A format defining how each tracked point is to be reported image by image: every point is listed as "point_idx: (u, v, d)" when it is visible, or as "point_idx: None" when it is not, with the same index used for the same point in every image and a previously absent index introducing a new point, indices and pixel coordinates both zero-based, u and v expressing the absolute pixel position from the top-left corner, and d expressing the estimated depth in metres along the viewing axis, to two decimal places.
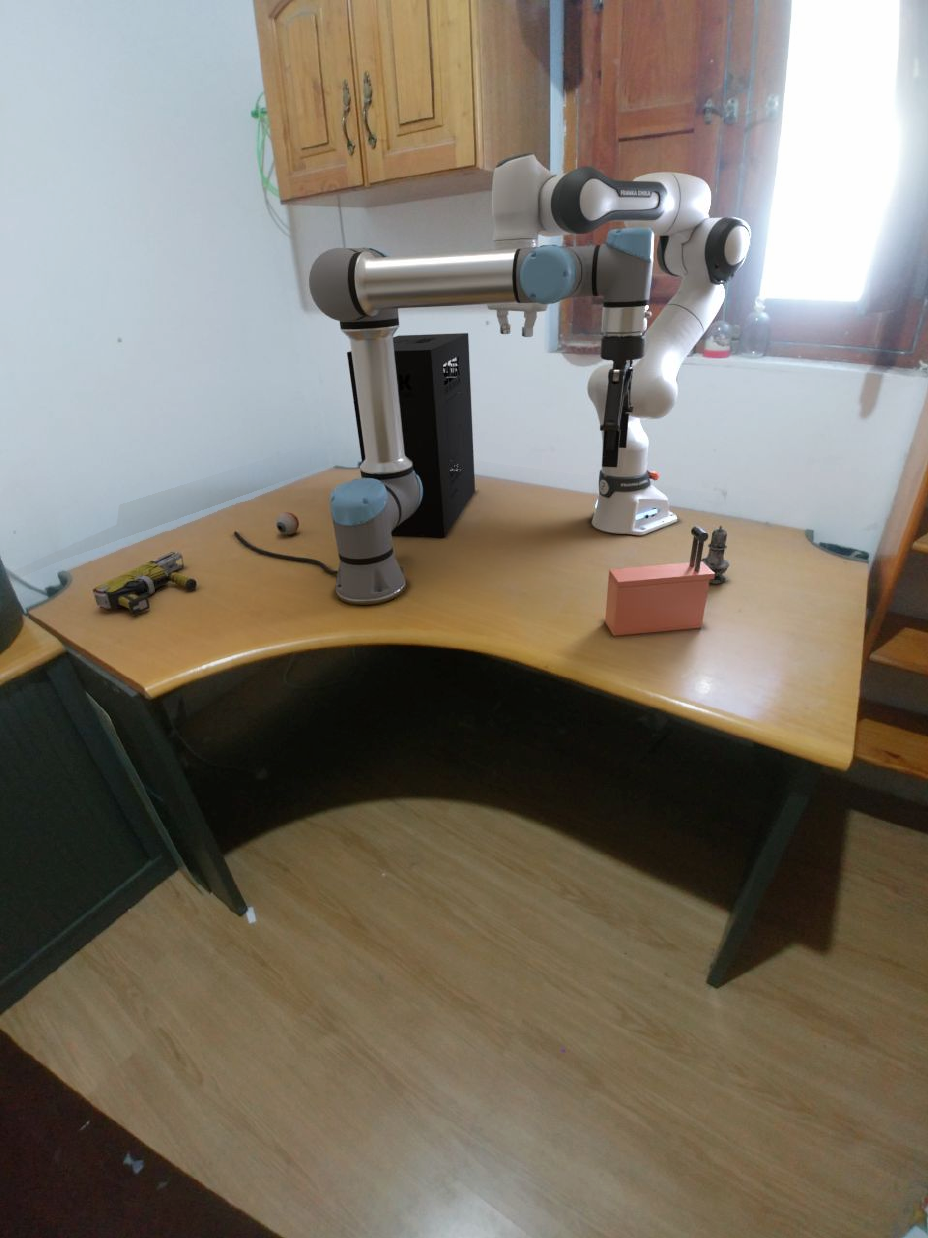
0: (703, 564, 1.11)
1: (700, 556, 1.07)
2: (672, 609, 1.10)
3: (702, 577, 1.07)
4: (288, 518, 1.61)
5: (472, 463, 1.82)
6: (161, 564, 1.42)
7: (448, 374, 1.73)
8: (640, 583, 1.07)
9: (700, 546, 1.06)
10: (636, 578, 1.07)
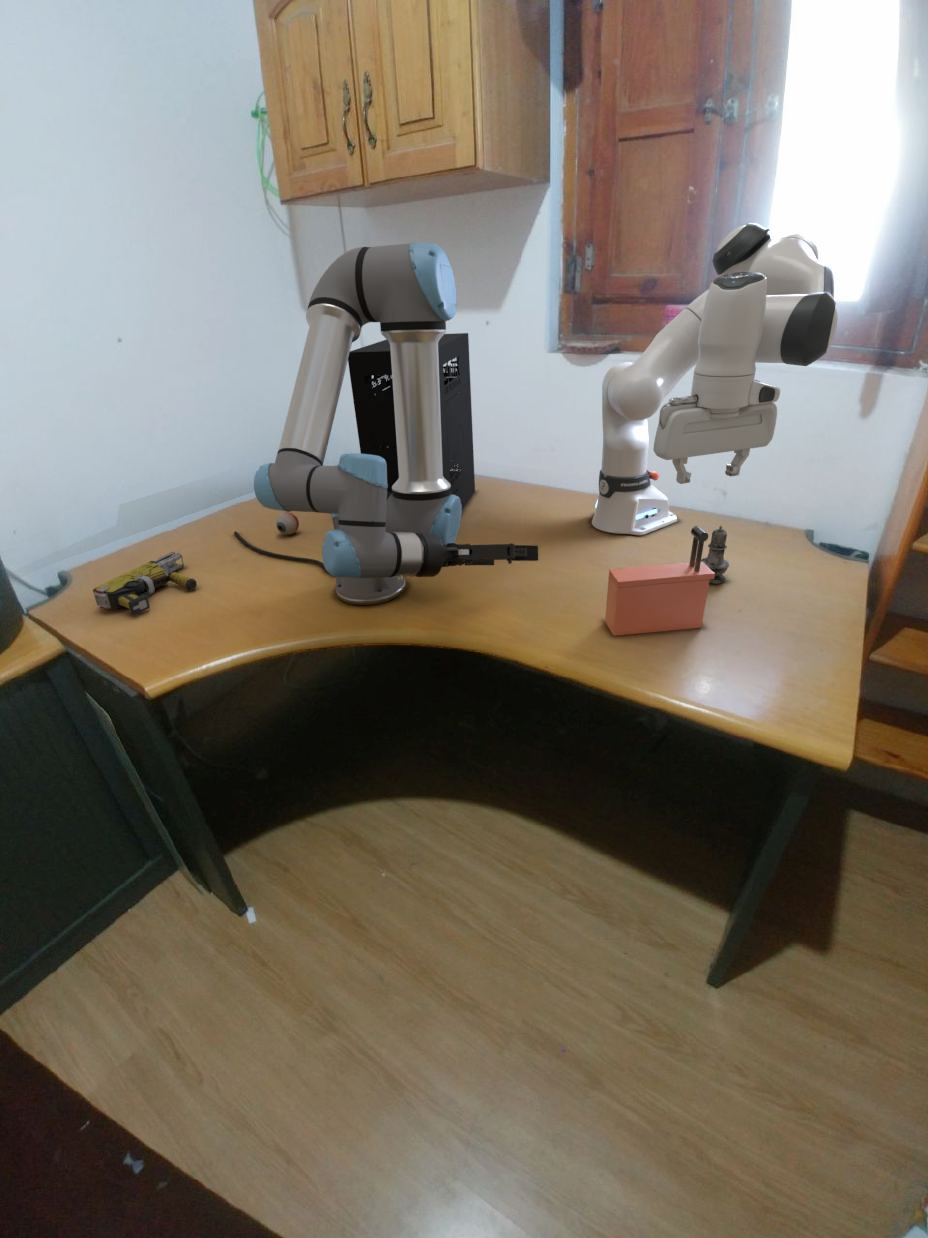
0: (703, 564, 1.11)
1: (700, 556, 1.07)
2: (672, 609, 1.10)
3: (702, 577, 1.07)
4: (288, 518, 1.61)
5: (472, 463, 1.82)
6: (161, 564, 1.42)
7: (448, 374, 1.73)
8: (640, 583, 1.07)
9: (700, 546, 1.06)
10: (636, 578, 1.07)
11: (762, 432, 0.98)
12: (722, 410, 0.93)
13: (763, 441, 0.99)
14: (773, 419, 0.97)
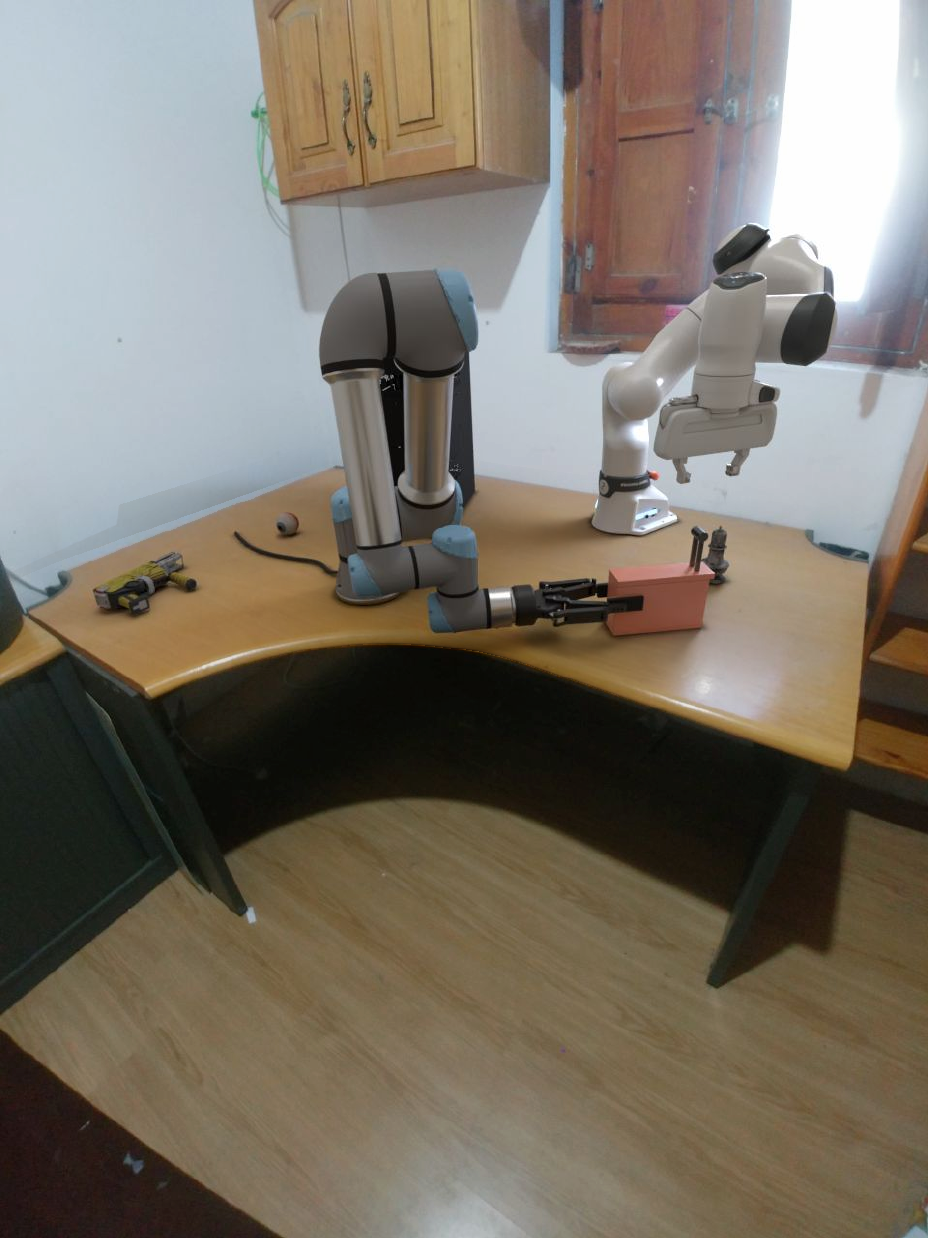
0: (703, 564, 1.11)
1: (700, 556, 1.07)
2: (672, 609, 1.10)
3: (702, 577, 1.07)
4: (288, 518, 1.61)
5: (472, 463, 1.82)
6: (161, 564, 1.42)
7: None
8: (640, 583, 1.07)
9: (700, 546, 1.06)
10: (636, 578, 1.07)
11: (762, 432, 0.98)
12: (722, 410, 0.93)
13: (763, 441, 0.99)
14: (773, 419, 0.97)
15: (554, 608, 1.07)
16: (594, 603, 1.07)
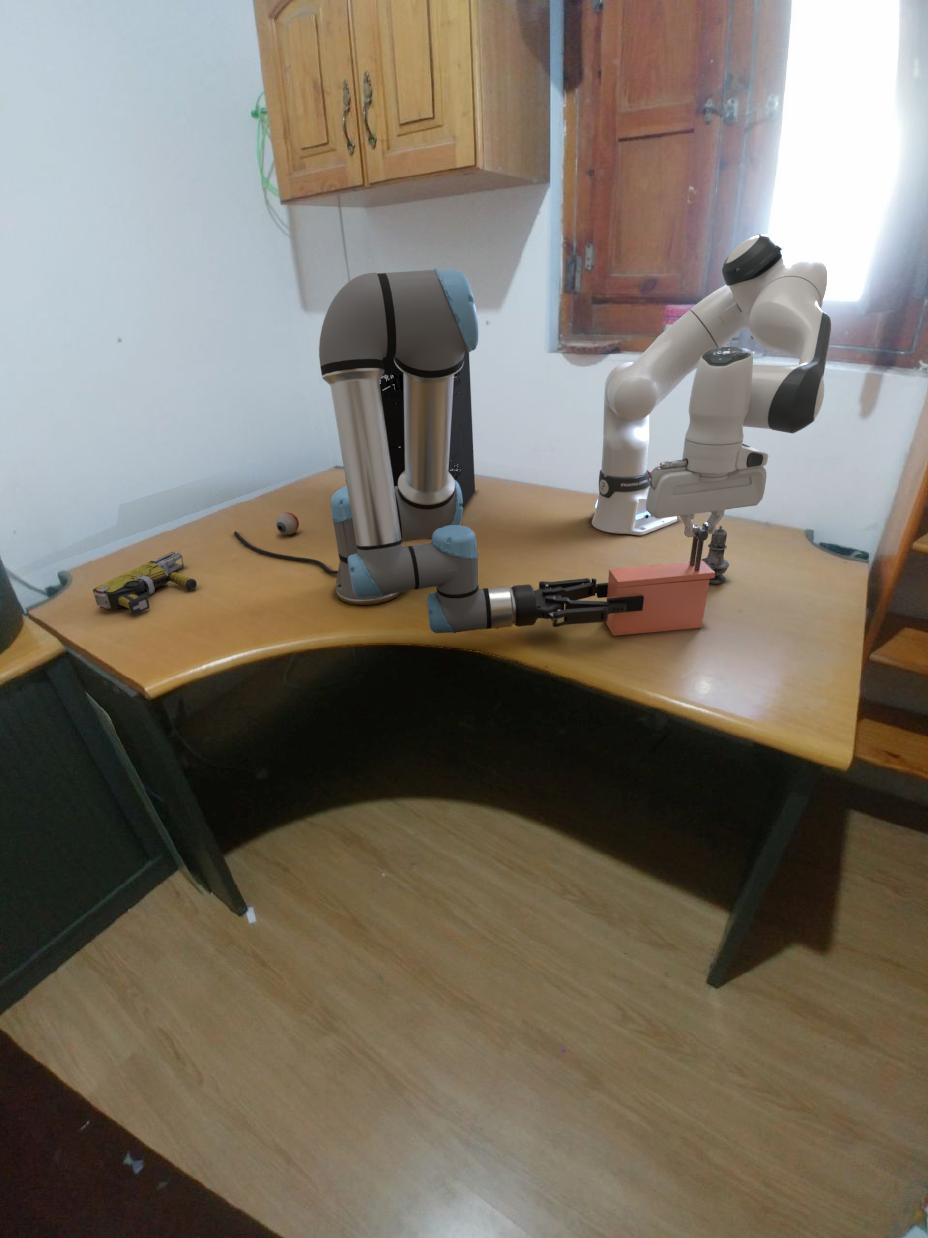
0: (703, 563, 1.11)
1: (700, 555, 1.07)
2: (672, 609, 1.10)
3: (702, 576, 1.07)
4: (288, 518, 1.61)
5: (472, 463, 1.82)
6: (161, 564, 1.42)
7: None
8: (640, 583, 1.07)
9: (700, 545, 1.06)
10: (636, 578, 1.07)
11: (752, 493, 1.02)
12: (710, 474, 0.98)
13: (753, 501, 1.03)
14: (762, 481, 1.01)
15: (554, 608, 1.07)
16: (594, 603, 1.07)
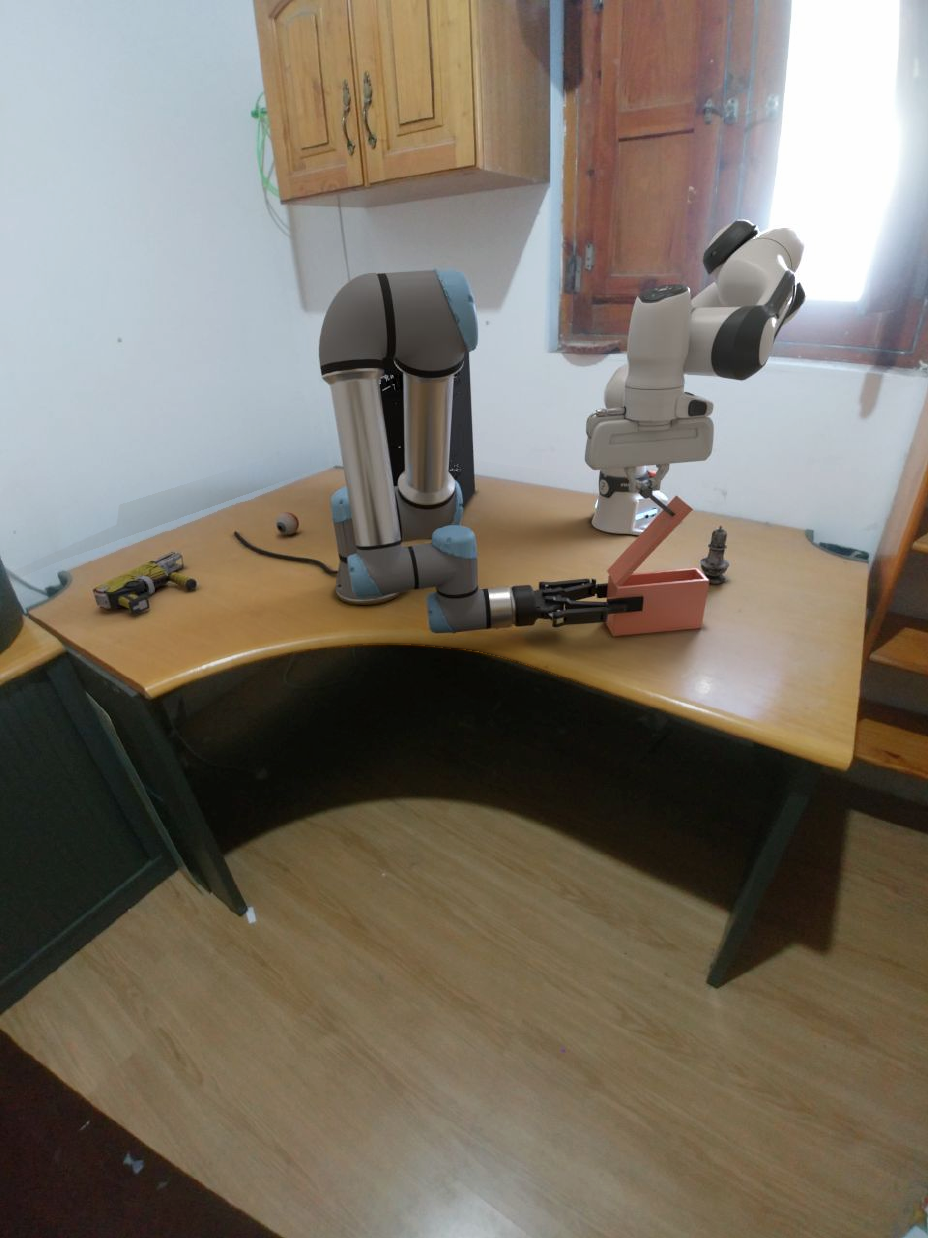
0: (677, 499, 1.04)
1: (662, 505, 1.01)
2: (672, 609, 1.10)
3: (681, 518, 1.01)
4: (288, 518, 1.61)
5: (472, 463, 1.82)
6: (161, 564, 1.42)
7: None
8: (634, 568, 1.05)
9: (653, 500, 1.00)
10: (628, 567, 1.06)
11: (699, 446, 0.96)
12: (648, 422, 0.92)
13: (701, 455, 0.97)
14: (709, 433, 0.95)
15: (554, 608, 1.07)
16: (593, 603, 1.07)
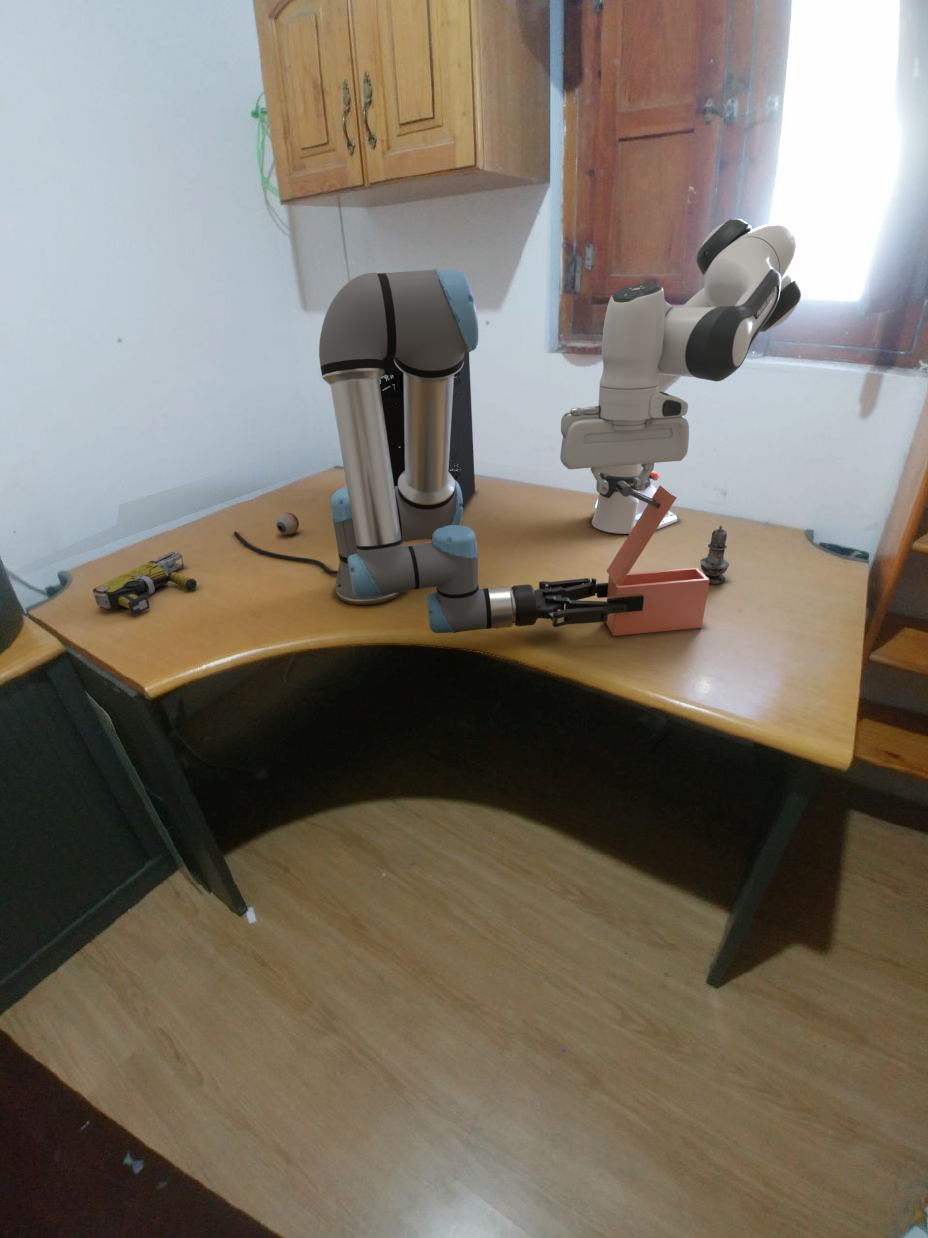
0: (661, 489, 1.03)
1: (645, 499, 1.00)
2: (672, 609, 1.10)
3: (666, 508, 1.00)
4: (288, 518, 1.61)
5: (472, 463, 1.82)
6: (161, 564, 1.42)
7: None
8: (630, 565, 1.05)
9: (634, 496, 1.00)
10: (624, 565, 1.06)
11: (674, 446, 0.96)
12: (623, 422, 0.92)
13: (676, 455, 0.97)
14: (684, 433, 0.95)
15: (554, 608, 1.07)
16: (594, 603, 1.07)
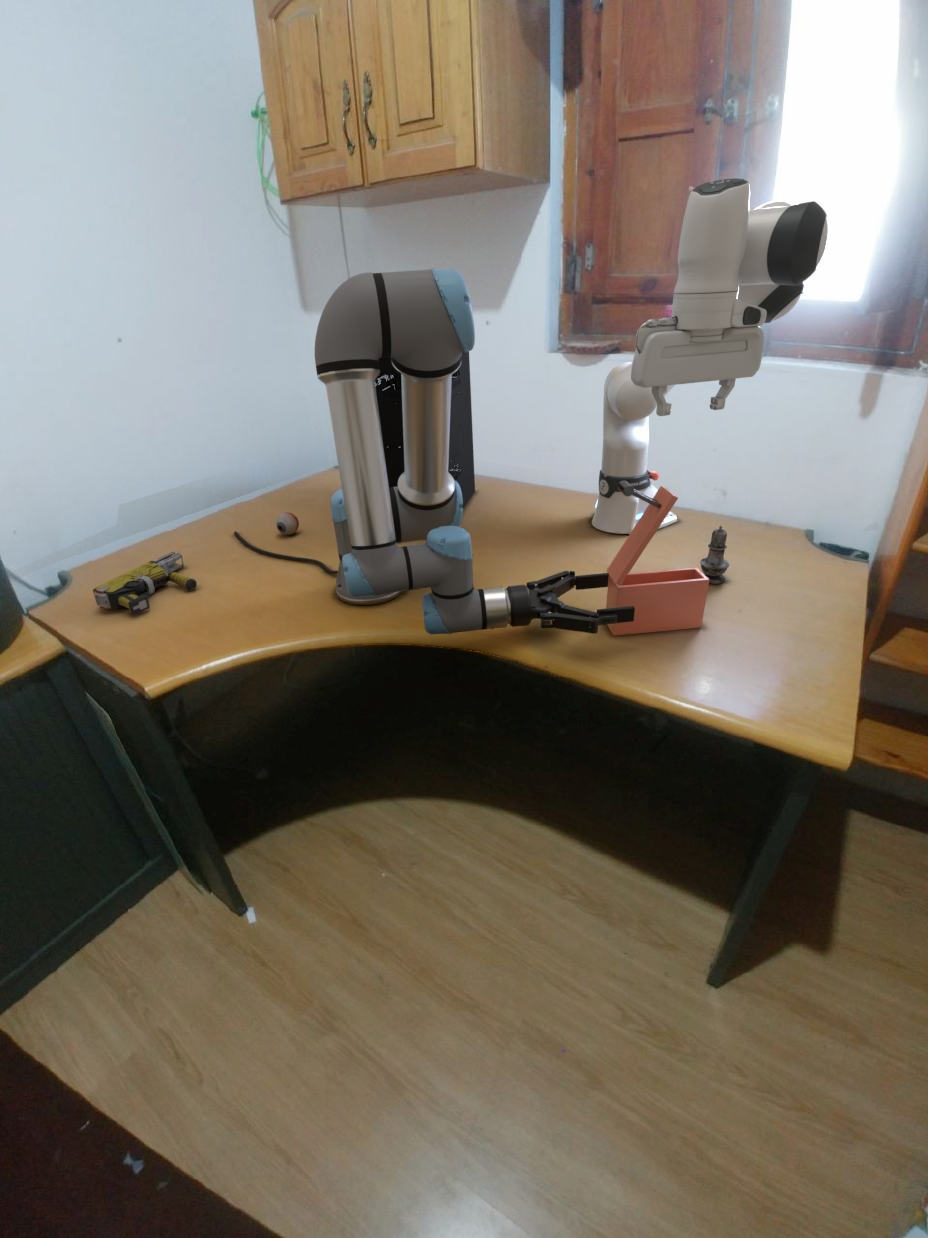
0: (662, 489, 1.03)
1: (647, 499, 1.01)
2: (672, 609, 1.10)
3: (668, 508, 1.00)
4: (288, 518, 1.61)
5: (472, 463, 1.82)
6: (161, 564, 1.42)
7: None
8: (631, 565, 1.05)
9: (636, 496, 1.00)
10: (624, 564, 1.06)
11: (748, 360, 0.92)
12: (703, 332, 0.87)
13: (749, 370, 0.92)
14: (760, 345, 0.90)
15: (549, 608, 1.07)
16: (584, 612, 1.04)
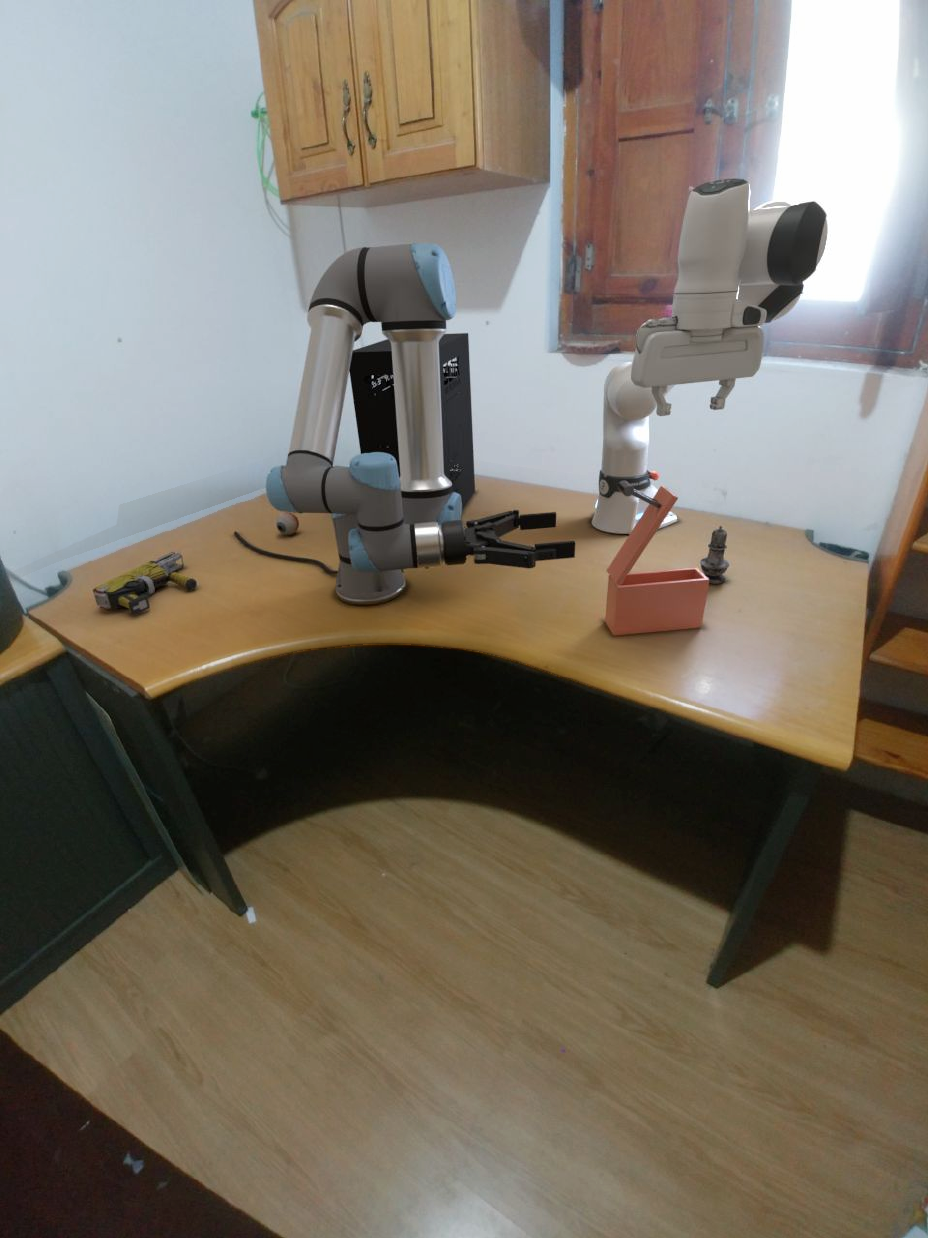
0: (662, 489, 1.03)
1: (647, 499, 1.01)
2: (672, 609, 1.10)
3: (668, 508, 1.00)
4: (288, 518, 1.61)
5: (472, 463, 1.82)
6: (161, 564, 1.42)
7: (448, 374, 1.73)
8: (631, 565, 1.05)
9: (636, 496, 1.00)
10: (624, 564, 1.06)
11: (748, 360, 0.92)
12: (703, 332, 0.87)
13: (749, 370, 0.92)
14: (760, 345, 0.90)
15: (484, 544, 1.00)
16: (520, 546, 0.97)
